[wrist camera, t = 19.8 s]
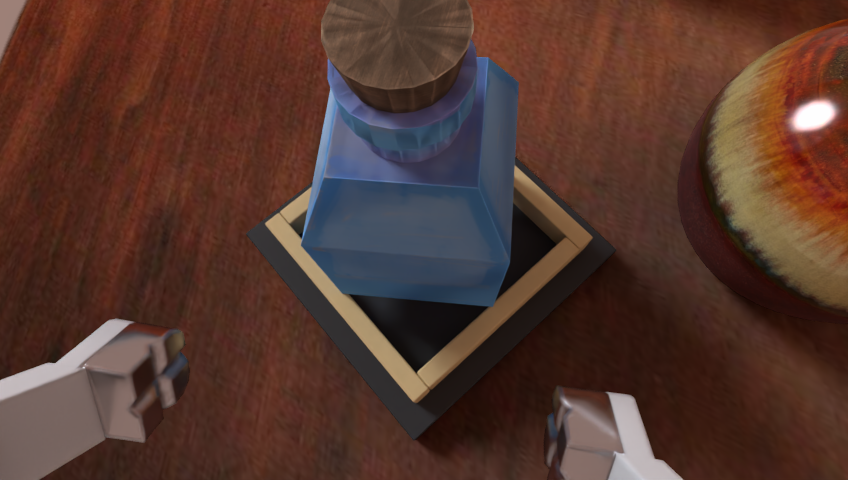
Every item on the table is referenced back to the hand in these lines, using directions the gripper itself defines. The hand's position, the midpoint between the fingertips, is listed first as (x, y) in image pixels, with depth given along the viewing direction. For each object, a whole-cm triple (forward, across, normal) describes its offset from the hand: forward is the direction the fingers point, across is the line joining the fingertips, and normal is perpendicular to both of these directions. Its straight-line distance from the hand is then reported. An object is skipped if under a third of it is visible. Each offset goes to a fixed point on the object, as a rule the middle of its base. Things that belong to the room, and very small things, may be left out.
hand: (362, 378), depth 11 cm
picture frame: (+13, 0, +3) cm, 14 cm away
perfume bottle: (+11, 0, +2) cm, 12 cm away
